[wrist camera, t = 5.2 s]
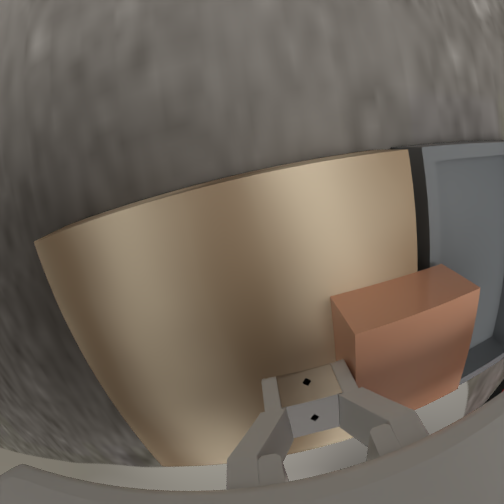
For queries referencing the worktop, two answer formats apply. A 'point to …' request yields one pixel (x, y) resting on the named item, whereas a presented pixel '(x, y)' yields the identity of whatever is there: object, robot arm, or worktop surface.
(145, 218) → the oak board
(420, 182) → the tray
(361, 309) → the terracotta tile
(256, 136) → the worktop surface
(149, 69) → the worktop surface
